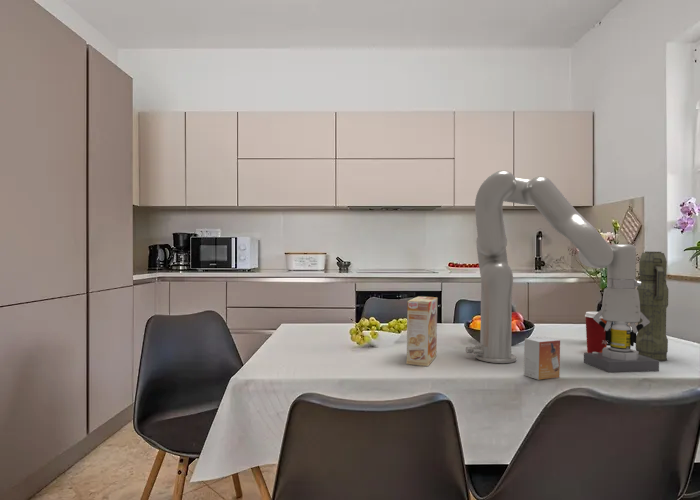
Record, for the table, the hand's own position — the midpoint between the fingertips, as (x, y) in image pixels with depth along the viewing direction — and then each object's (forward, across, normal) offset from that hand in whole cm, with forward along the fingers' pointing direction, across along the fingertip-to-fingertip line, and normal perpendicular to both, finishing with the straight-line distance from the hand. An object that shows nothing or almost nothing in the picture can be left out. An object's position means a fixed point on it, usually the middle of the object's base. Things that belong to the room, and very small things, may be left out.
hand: (620, 343), depth 148 cm
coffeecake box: (+7, +56, +22) cm, 60 cm away
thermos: (+7, -10, -18) cm, 21 cm away
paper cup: (+7, +6, -16) cm, 19 cm away
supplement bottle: (+2, 0, 0) cm, 2 cm away
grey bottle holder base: (+7, 0, 0) cm, 7 cm away
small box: (+7, +20, +24) cm, 32 cm away
